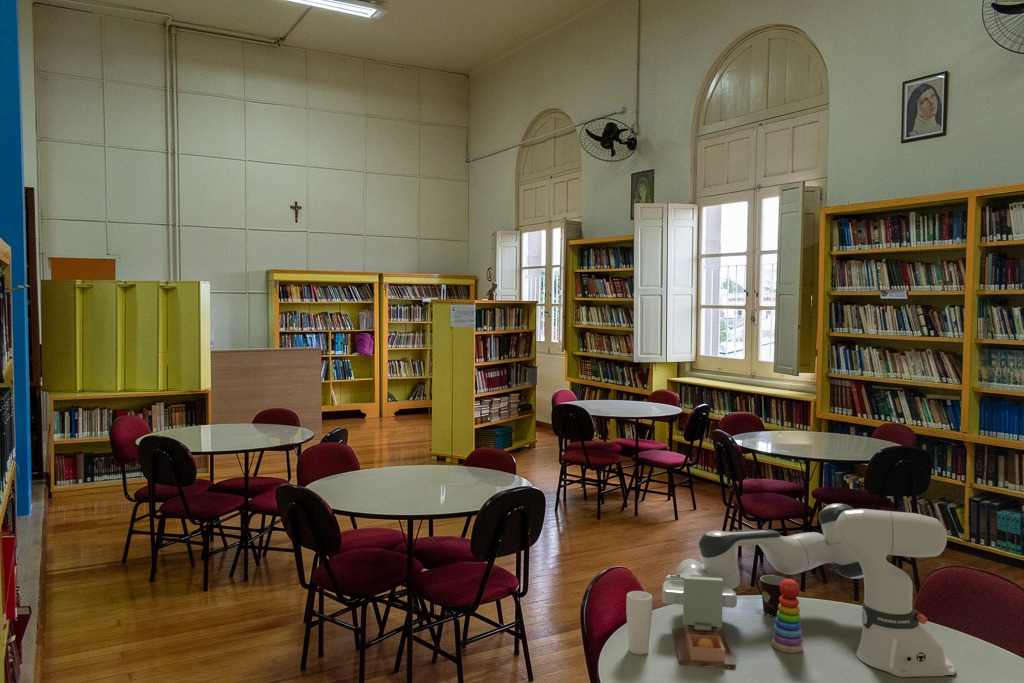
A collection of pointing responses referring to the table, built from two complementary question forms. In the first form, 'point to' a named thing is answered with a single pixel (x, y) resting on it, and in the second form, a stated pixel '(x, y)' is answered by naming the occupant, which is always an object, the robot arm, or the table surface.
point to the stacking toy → (788, 619)
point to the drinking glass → (638, 621)
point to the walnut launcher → (681, 634)
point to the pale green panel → (702, 602)
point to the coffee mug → (770, 592)
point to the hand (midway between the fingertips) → (702, 606)
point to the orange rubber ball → (705, 643)
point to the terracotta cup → (705, 649)
